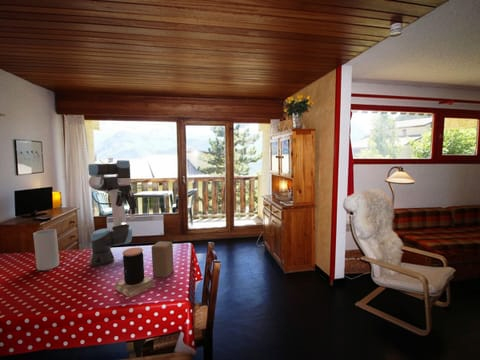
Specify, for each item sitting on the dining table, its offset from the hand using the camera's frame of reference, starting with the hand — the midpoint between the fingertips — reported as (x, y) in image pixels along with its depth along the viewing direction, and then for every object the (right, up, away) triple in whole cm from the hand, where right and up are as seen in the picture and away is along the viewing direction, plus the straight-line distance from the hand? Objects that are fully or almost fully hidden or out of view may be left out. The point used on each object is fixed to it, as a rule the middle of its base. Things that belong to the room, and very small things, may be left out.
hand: (126, 217), depth 161 cm
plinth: (+12, -38, -15) cm, 43 cm away
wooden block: (+23, -37, +1) cm, 43 cm away
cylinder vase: (-61, -37, +14) cm, 72 cm away
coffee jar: (+12, -35, -15) cm, 39 cm away
